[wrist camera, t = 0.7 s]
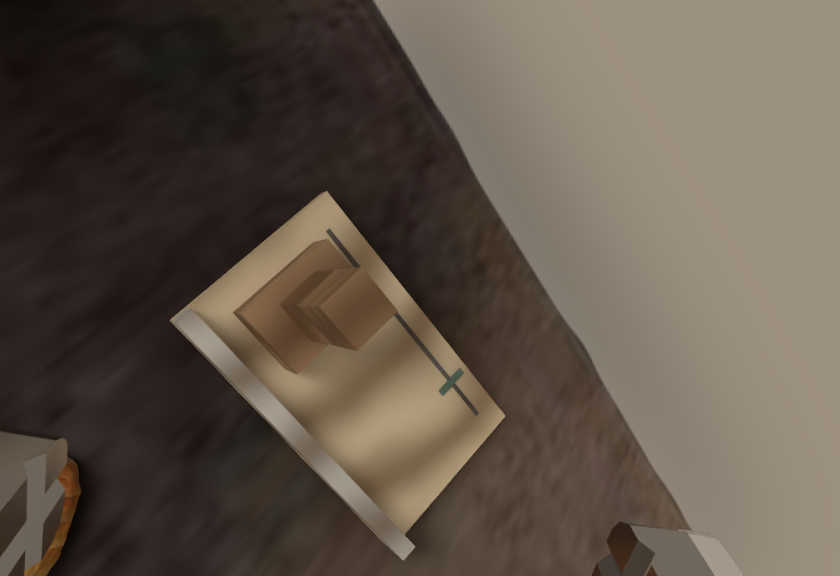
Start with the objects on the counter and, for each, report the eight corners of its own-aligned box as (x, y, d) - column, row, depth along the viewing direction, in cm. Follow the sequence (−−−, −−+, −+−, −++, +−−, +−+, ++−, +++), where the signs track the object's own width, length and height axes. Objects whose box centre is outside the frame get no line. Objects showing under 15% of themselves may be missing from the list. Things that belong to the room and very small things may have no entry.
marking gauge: (232, 312, 39) (275, 319, 30) (319, 236, 42) (385, 219, 32) (284, 369, 41) (341, 393, 31) (365, 292, 44) (442, 292, 34)
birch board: (169, 320, 39) (175, 322, 36) (320, 194, 44) (336, 186, 40) (382, 542, 46) (403, 560, 43) (494, 412, 50) (520, 420, 47)
